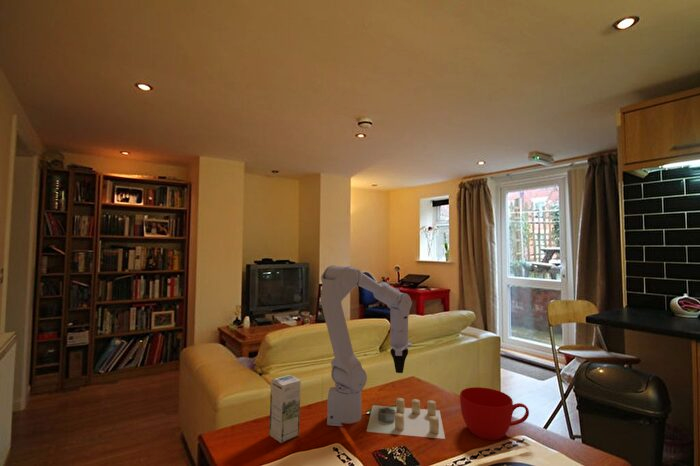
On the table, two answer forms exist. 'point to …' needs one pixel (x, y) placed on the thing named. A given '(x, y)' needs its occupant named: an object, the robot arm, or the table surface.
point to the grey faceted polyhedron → (386, 415)
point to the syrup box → (284, 408)
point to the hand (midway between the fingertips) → (399, 372)
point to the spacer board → (409, 420)
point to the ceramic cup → (488, 412)
